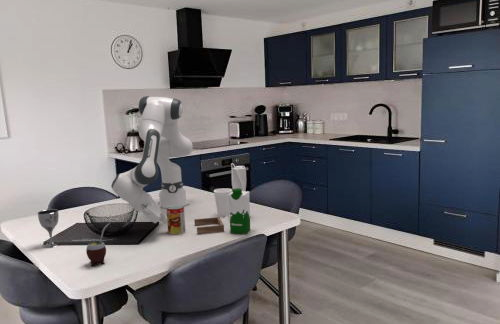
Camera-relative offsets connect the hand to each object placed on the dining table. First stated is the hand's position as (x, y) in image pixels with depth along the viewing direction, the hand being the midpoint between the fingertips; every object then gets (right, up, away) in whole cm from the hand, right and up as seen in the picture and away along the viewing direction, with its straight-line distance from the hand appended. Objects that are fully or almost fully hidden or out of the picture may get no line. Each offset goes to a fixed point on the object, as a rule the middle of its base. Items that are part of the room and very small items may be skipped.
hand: (166, 221), depth 193 cm
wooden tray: (+19, -4, +5) cm, 20 cm away
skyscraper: (+34, -1, +20) cm, 39 cm away
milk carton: (+34, -5, -1) cm, 35 cm away
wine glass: (-48, -9, -10) cm, 49 cm away
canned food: (+5, -5, +2) cm, 7 cm away
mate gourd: (-19, -11, -33) cm, 39 cm away
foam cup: (+25, 0, +27) cm, 37 cm away
